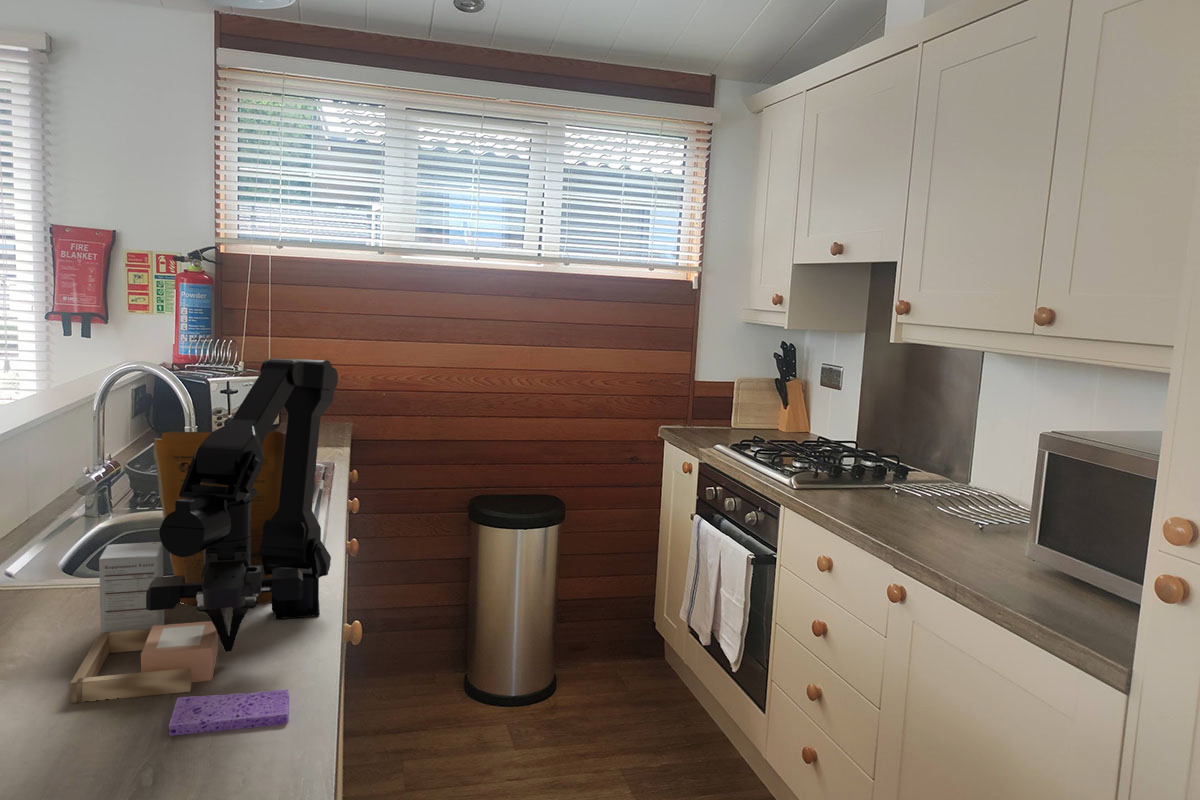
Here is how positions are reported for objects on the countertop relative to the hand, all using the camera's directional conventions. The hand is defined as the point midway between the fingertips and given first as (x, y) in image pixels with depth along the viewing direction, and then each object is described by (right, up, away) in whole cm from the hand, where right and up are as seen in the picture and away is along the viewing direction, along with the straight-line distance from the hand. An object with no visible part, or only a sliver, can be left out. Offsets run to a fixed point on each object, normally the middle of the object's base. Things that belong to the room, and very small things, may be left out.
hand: (228, 651), depth 115 cm
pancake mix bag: (-11, +1, +23) cm, 25 cm away
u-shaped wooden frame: (-9, -2, -3) cm, 10 cm away
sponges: (+7, -4, -14) cm, 16 cm away
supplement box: (-17, 0, +8) cm, 19 cm away
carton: (-5, -2, -2) cm, 6 cm away
